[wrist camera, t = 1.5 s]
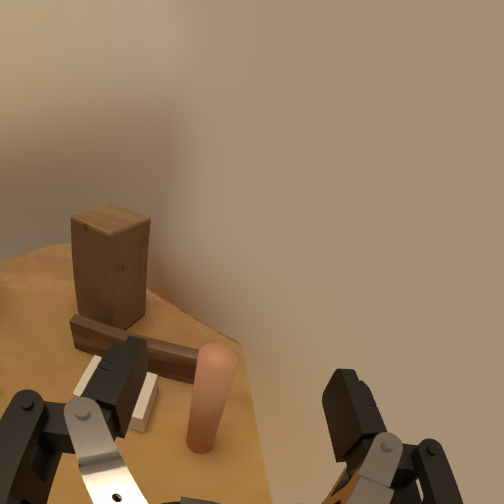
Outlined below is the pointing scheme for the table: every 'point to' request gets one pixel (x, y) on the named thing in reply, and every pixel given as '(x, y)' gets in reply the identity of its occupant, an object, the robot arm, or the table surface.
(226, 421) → the table surface
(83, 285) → the wooden block
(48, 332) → the table surface
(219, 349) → the dowel
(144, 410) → the notched block
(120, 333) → the wall
